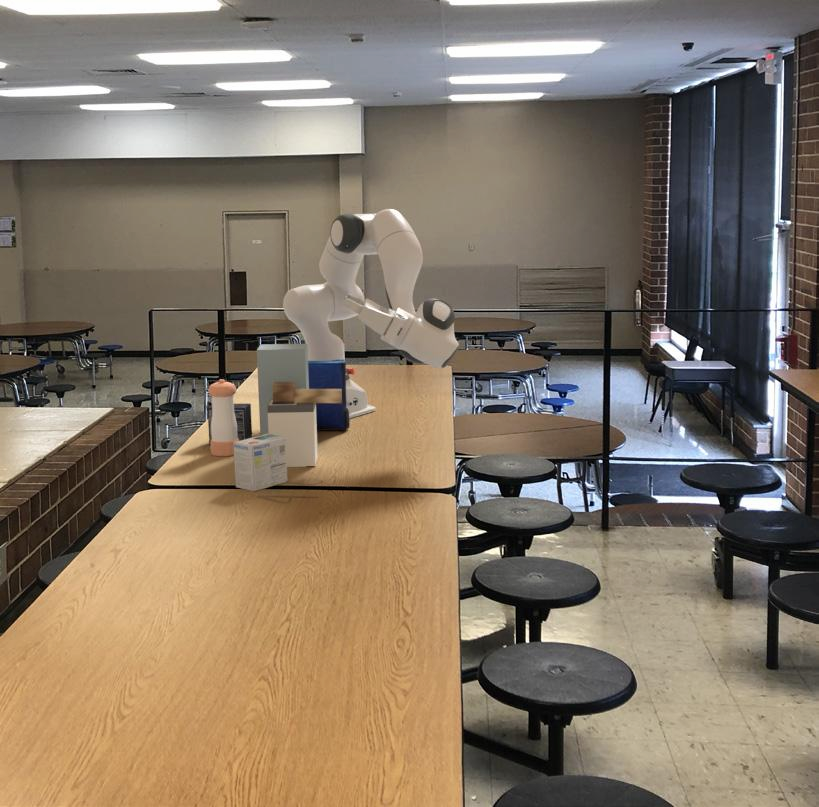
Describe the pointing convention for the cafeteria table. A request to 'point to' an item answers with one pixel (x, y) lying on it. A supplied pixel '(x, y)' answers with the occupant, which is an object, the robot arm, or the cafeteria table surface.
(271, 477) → the light bulb box
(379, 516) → the cafeteria table surface
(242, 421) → the small box
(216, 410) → the salt shaker
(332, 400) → the stamp
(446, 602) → the cafeteria table surface
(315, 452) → the card box
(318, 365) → the blue fabric case
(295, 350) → the stand
